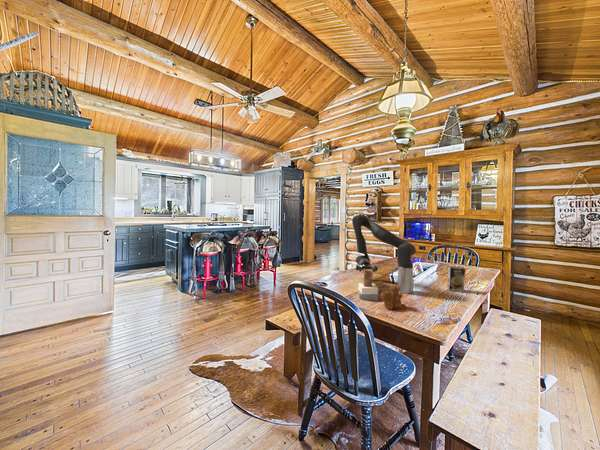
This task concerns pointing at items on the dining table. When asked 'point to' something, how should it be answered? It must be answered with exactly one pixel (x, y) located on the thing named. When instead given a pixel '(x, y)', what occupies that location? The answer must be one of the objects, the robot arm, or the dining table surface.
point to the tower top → (368, 289)
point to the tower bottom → (367, 296)
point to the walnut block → (367, 277)
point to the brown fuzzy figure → (392, 298)
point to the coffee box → (456, 279)
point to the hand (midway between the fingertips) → (367, 270)
